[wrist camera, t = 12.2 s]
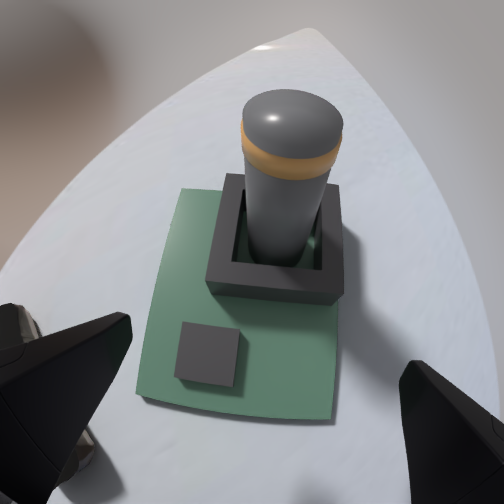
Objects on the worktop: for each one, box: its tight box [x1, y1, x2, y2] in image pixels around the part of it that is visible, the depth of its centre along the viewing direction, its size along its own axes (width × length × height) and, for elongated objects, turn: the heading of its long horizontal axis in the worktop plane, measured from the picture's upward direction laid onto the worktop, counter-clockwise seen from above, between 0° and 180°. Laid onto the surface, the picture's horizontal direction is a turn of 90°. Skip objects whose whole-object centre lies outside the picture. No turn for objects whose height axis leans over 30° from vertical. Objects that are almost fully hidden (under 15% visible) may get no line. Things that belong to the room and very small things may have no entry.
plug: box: [241, 89, 343, 268], centre depth 16 cm, size 5×5×12 cm
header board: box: [136, 173, 344, 419], centre depth 20 cm, size 18×14×4 cm
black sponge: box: [0, 303, 94, 490], centre depth 15 cm, size 16×8×4 cm, turn 40°
